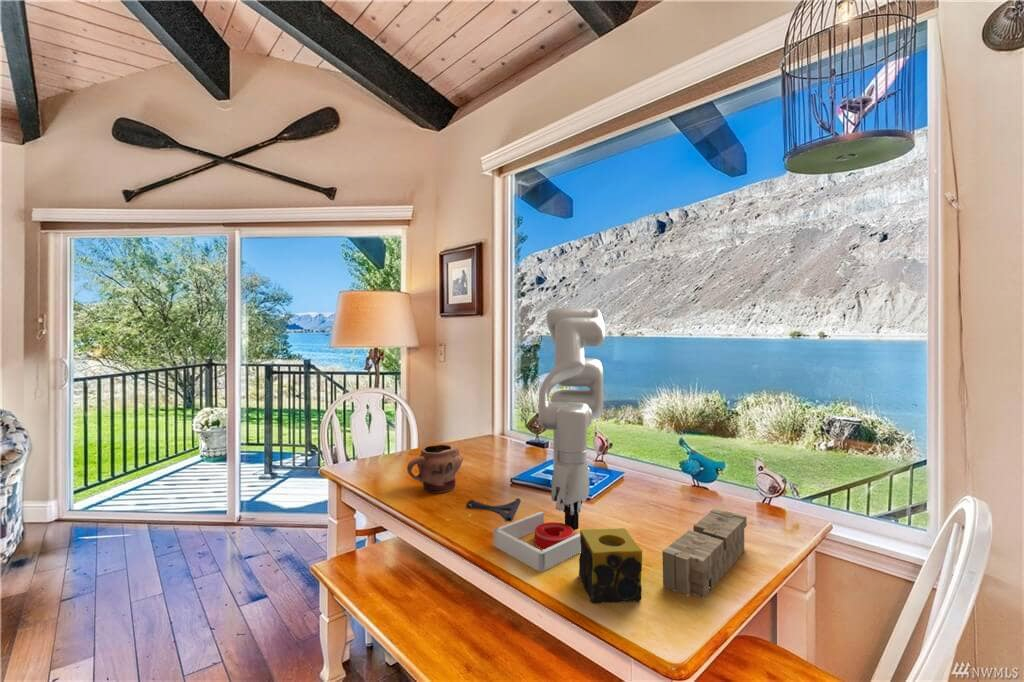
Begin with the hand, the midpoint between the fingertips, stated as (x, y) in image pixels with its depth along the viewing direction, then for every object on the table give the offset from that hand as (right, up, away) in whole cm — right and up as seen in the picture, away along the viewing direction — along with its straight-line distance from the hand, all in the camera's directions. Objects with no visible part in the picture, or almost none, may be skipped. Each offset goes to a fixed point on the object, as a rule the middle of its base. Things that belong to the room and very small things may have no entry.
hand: (571, 528), depth 114 cm
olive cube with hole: (+4, -2, -24) cm, 25 cm away
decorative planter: (-40, -1, +32) cm, 51 cm away
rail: (-8, -2, -7) cm, 11 cm away
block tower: (+28, -2, -16) cm, 32 cm away
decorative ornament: (-5, -2, -4) cm, 7 cm away
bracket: (-21, -2, +16) cm, 27 cm away
